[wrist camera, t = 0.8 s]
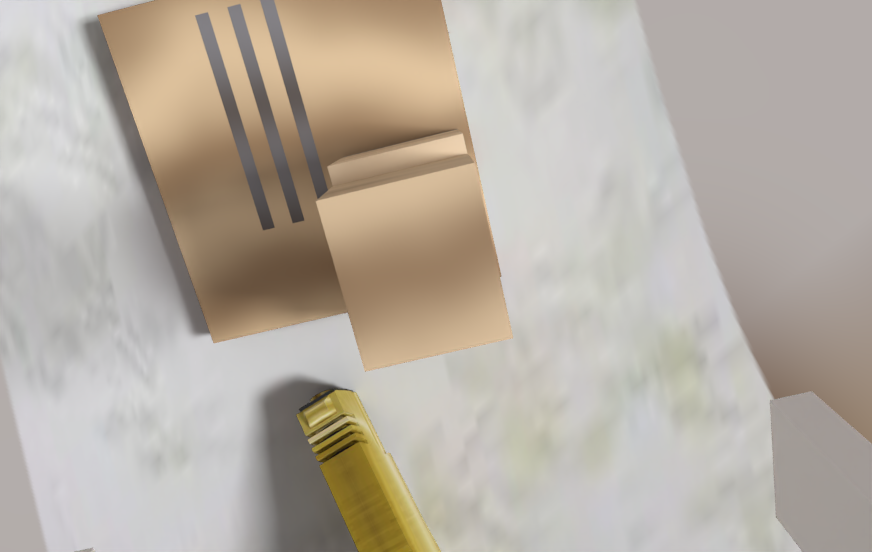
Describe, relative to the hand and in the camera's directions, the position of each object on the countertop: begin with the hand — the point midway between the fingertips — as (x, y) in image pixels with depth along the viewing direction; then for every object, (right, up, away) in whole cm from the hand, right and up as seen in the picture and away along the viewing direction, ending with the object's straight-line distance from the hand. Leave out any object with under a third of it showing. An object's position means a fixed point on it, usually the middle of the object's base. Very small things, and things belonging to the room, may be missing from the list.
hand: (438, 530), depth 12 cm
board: (-6, +11, +19) cm, 23 cm away
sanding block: (-1, +7, +18) cm, 20 cm away
